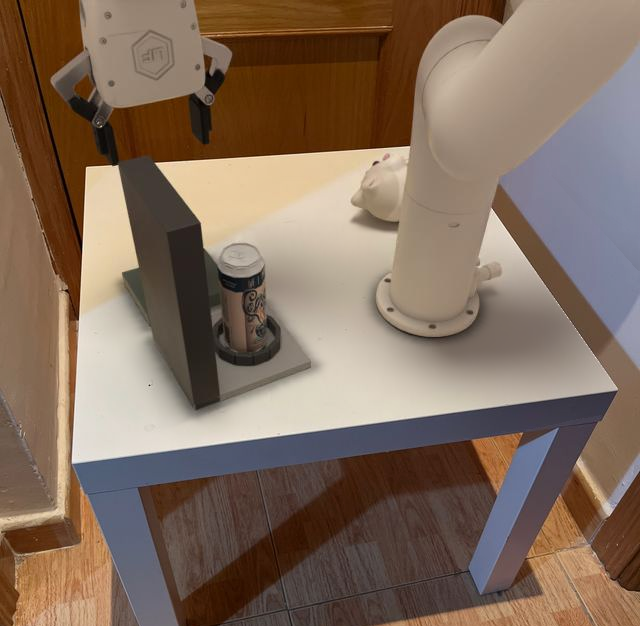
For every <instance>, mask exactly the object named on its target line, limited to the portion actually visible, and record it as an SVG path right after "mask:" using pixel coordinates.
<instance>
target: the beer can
mask: <svg viewBox="0 0 640 626" xmlns="http://www.w3.org/2000/svg"><path fill="white" fill-rule="evenodd" d="M216 264H217V269H218V279H219V289H220V299H221V304H220V309H221V312H222V320H223V330H224V340H225V344H226V345H227V347H228V348H229V349H230V350H232V351H234V352H241V353H253V352H256V351H259V350H260V349H262V348H263V347H264V346H265V344H266V342H267V317H266V304H267V293H266V290H267V288H266V262H265V257H264V256H263V255H262V254H261V252H260V250H259V249H258V247H256V246H255V245H252V244H250V243H248V242H236V243H235V242H234V243H231V244H229V245H227V246H226V247H223V248H222V251H221V252H220V255H219V256H218V258H217V261H216Z"/></svg>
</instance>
